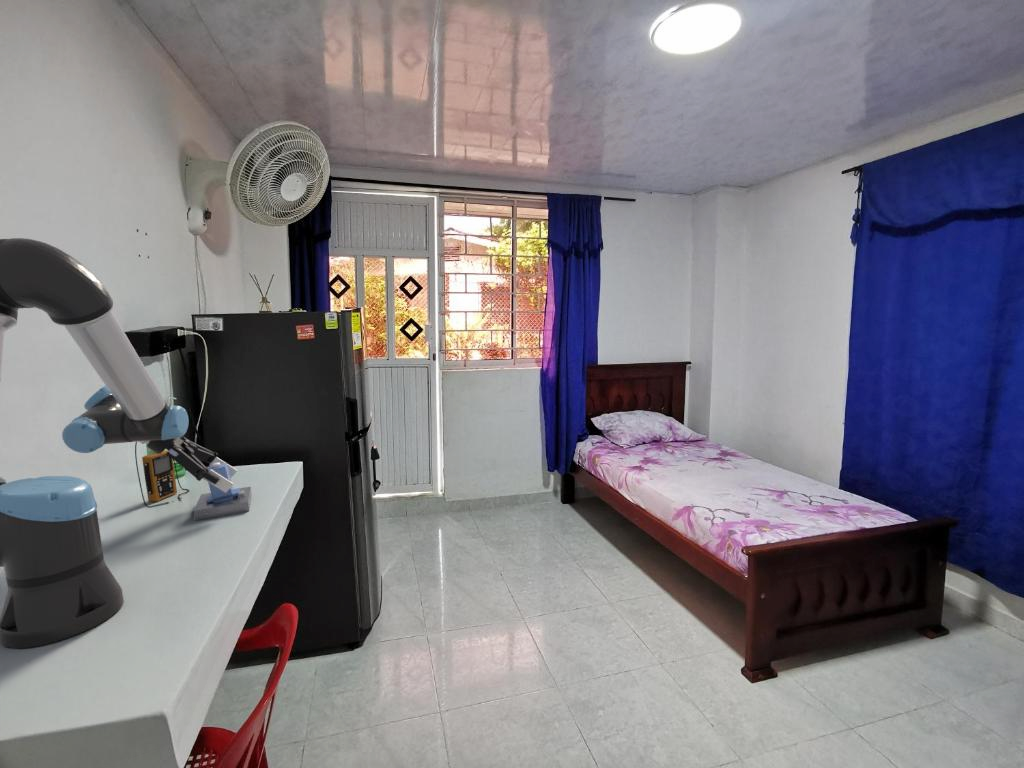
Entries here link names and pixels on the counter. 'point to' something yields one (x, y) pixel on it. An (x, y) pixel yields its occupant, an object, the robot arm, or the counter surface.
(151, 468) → the multimeter
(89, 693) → the counter surface
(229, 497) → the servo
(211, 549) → the counter surface
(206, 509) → the plate
